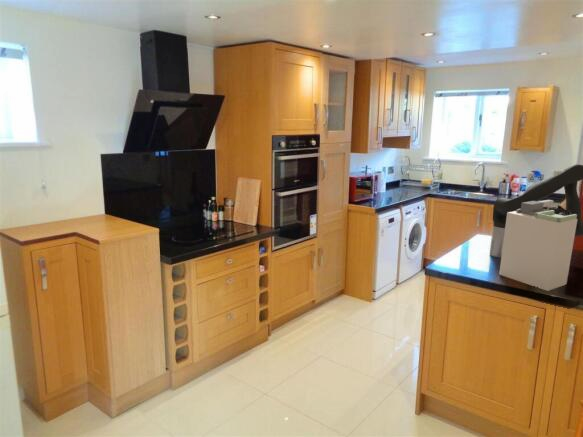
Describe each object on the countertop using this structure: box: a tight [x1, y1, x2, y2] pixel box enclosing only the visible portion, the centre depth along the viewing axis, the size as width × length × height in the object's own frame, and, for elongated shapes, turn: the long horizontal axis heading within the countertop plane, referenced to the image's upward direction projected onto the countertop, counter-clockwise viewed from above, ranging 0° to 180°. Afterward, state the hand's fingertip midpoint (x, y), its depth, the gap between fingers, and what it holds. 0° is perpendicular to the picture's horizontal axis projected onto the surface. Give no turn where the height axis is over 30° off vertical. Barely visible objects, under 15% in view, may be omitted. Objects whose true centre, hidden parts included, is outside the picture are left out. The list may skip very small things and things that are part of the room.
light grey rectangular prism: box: [520, 199, 554, 215], centre depth 207 cm, size 21×5×5 cm, turn 121°
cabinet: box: [498, 209, 577, 292], centre depth 202 cm, size 16×24×34 cm, turn 31°
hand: (549, 205), depth 212 cm, fingers open, 8 cm apart
